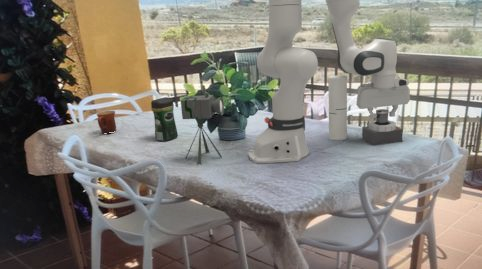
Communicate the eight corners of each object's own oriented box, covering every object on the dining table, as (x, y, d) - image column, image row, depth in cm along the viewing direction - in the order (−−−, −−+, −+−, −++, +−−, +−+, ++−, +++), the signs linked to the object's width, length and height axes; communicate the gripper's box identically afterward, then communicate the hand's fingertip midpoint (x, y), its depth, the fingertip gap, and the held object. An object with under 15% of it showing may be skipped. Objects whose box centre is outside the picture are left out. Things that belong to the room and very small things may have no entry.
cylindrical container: (347, 140, 162) (347, 77, 155) (329, 140, 163) (328, 78, 156) (346, 134, 168) (346, 75, 161) (328, 135, 170) (328, 75, 163)
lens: (379, 130, 154) (379, 112, 152) (373, 127, 159) (373, 110, 157) (390, 128, 155) (390, 110, 153) (384, 126, 159) (384, 108, 157)
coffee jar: (169, 134, 188) (164, 95, 182) (180, 137, 182) (176, 96, 177) (152, 140, 181) (147, 99, 176) (163, 142, 176) (158, 101, 170)
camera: (180, 165, 146) (172, 98, 139) (190, 151, 161) (184, 90, 154) (222, 165, 144) (216, 96, 137) (229, 151, 159) (224, 88, 152)
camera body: (373, 145, 153) (373, 128, 151) (361, 138, 162) (361, 121, 160) (402, 142, 154) (403, 124, 152) (389, 135, 164) (390, 118, 162)
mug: (105, 130, 204) (101, 110, 201) (121, 130, 203) (118, 110, 200) (93, 137, 193) (89, 116, 190) (110, 137, 191) (106, 116, 188)
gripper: (361, 85, 147) (360, 122, 151) (413, 80, 150) (411, 116, 154) (353, 83, 153) (353, 118, 157) (403, 78, 156) (402, 112, 160)
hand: (382, 117), depth 156 cm, fingers open, 6 cm apart
